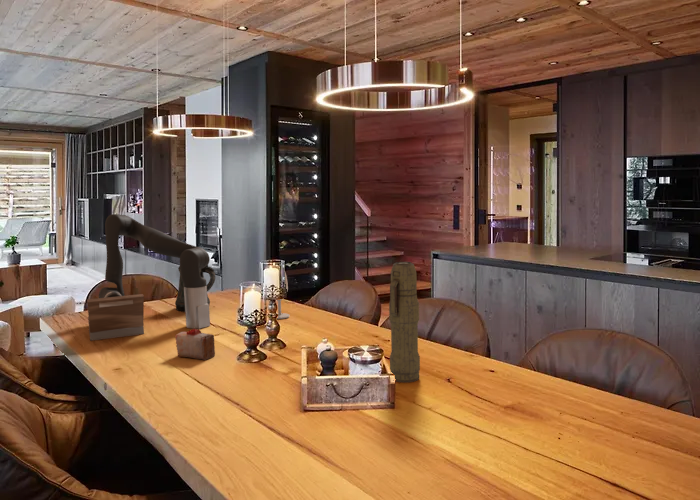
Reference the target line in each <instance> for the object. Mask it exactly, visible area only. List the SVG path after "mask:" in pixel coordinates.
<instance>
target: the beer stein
mask: <svg viewBox="0 0 700 500" xmlns="http://www.w3.org/2000/svg"><path fill="white" fill-rule="evenodd" d="M178 272H179V279H178V280H179V282H178V289H177V297H176V299H175V302H174V304H175V310H176V311H178V312H183V313H185V296H184V283H183V281H182V278H181V269H180V265H179V266H178ZM199 273H200V276H201V277H202V278H205V277H204V276H205V275H204V273H207V274H208V275H209V277H210V278H209V280H208V283H206V286H207V293H208V292H209V291H210V290H211V289H212V287H213V286H214V285H215V283H216V282H215V281H216V272H215V269H213V267H211V266H209V264H208V265H207V266H206V267H204V268H202V269H199ZM207 304H209V306H210V304H211V301H210V298H209V296H208V294H207Z"/></svg>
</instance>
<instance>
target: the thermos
mask: <svg viewBox="0 0 700 500" xmlns="http://www.w3.org/2000/svg"><path fill="white" fill-rule="evenodd" d="M417 280H418V278H417V270H416V266H415V264H414V263H412V262H410V261H397V262H395V263H393V264H392V267H391V271H390V284H389V303H388V304H389V305H388V313H389V315H388V317H389V319H388V320H389V322H390V332H391V334H390V336H391V338H390V339H391V344H390V345H391V348H390V349H391V352H390V355H389V370H390V373H391V372H392V373H393V374H394V375H395V379H396V381H395V382H397V383H414V382H416V381H419V380H420V370H421V363H420V362H421V357H420V353H419V343H418V341H419V340H418V338H419V337H418V336H419V335H418V332H419V331H418V329H419V328H418V327H419V326H418V324H419V321H420V306H419V305H420V301H419V299H418V295H417V294H418V293H417V292H418V291H417V289H418V288H417V287H418V286H417V282H418V281H417Z"/></svg>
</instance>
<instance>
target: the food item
mask: <svg viewBox="0 0 700 500" xmlns="http://www.w3.org/2000/svg"><path fill="white" fill-rule="evenodd" d="M175 344H176V345H175V346H176V350H177V357H180V358H188V359H196V360H200V361H201V360H203V361H207V360H209V359H211V358H215V355H216V349H215V348H216V347H215V335H214V334H211V333H205V332H202V331H201V330H200V329H199V328H191V329H189V330H188V331H180V332H179V333H177V334H175Z"/></svg>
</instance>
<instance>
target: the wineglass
mask: <svg viewBox="0 0 700 500" xmlns="http://www.w3.org/2000/svg"><path fill="white" fill-rule="evenodd" d="M285 284H286V289H287V291H288V290H289V286H288V285H289V284H288V276H287V273H286V272H285ZM282 300H283V299H280V300H276V301H277V310H278V311H277V314H278V318H277V319H276V320H283V319H289V318H290V315H291V314H289V313H285V312H284V313H282Z"/></svg>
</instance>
